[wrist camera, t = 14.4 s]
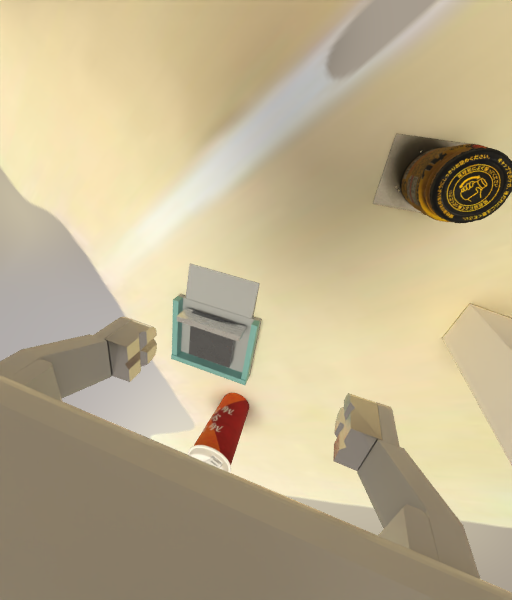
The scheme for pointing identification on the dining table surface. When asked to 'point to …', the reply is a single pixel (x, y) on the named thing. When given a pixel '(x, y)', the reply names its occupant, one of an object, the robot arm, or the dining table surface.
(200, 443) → the paper cup
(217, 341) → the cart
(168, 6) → the dining table surface
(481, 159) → the condiment
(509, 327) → the milk
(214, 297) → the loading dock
